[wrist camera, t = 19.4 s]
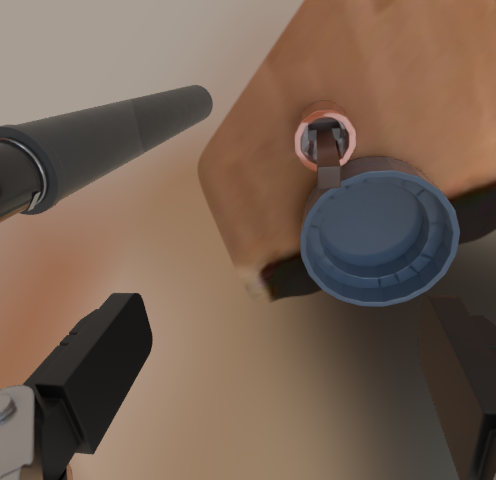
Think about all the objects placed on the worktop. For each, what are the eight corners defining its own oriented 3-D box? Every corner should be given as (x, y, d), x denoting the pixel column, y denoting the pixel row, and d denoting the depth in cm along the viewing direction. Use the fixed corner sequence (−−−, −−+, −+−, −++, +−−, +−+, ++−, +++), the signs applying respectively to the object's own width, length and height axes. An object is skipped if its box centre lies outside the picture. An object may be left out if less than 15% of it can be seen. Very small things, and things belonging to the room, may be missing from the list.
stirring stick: (308, 135, 39) (304, 190, 23) (308, 121, 38) (303, 168, 22) (337, 133, 38) (354, 187, 22) (338, 119, 37) (354, 164, 21)
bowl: (304, 277, 47) (303, 305, 42) (299, 160, 40) (296, 175, 35) (432, 277, 44) (448, 307, 39) (448, 150, 38) (470, 166, 32)
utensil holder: (299, 153, 40) (295, 173, 33) (296, 102, 38) (292, 113, 31) (348, 149, 39) (355, 170, 32) (348, 97, 37) (356, 107, 30)
